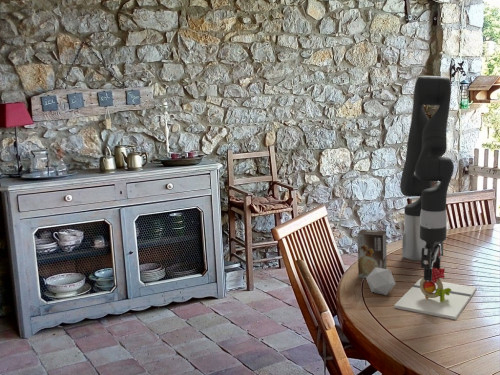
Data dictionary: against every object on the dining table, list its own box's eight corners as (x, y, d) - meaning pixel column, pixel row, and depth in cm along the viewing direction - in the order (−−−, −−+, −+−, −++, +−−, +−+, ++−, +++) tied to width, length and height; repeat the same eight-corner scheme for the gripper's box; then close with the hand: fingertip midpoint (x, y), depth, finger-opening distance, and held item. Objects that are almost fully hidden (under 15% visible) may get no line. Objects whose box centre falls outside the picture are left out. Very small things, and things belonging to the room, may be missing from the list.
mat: (394, 307, 167) (394, 304, 167) (420, 280, 188) (420, 278, 188) (455, 319, 157) (455, 316, 157) (476, 289, 178) (476, 286, 178)
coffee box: (387, 274, 196) (387, 230, 193) (383, 280, 190) (383, 235, 187) (361, 271, 200) (361, 228, 197) (357, 277, 194) (357, 233, 191)
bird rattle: (425, 308, 169) (452, 301, 164) (409, 276, 169) (436, 268, 164) (430, 300, 174) (457, 293, 169) (415, 269, 174) (441, 261, 169)
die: (399, 292, 180) (388, 265, 184) (397, 288, 173) (386, 260, 177) (375, 301, 182) (365, 273, 186) (372, 297, 174) (361, 269, 178)
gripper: (427, 217, 172) (426, 266, 175) (412, 228, 161) (412, 281, 164) (452, 219, 168) (451, 270, 171) (439, 231, 156) (438, 285, 160)
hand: (432, 275), depth 167 cm, fingers open, 8 cm apart
